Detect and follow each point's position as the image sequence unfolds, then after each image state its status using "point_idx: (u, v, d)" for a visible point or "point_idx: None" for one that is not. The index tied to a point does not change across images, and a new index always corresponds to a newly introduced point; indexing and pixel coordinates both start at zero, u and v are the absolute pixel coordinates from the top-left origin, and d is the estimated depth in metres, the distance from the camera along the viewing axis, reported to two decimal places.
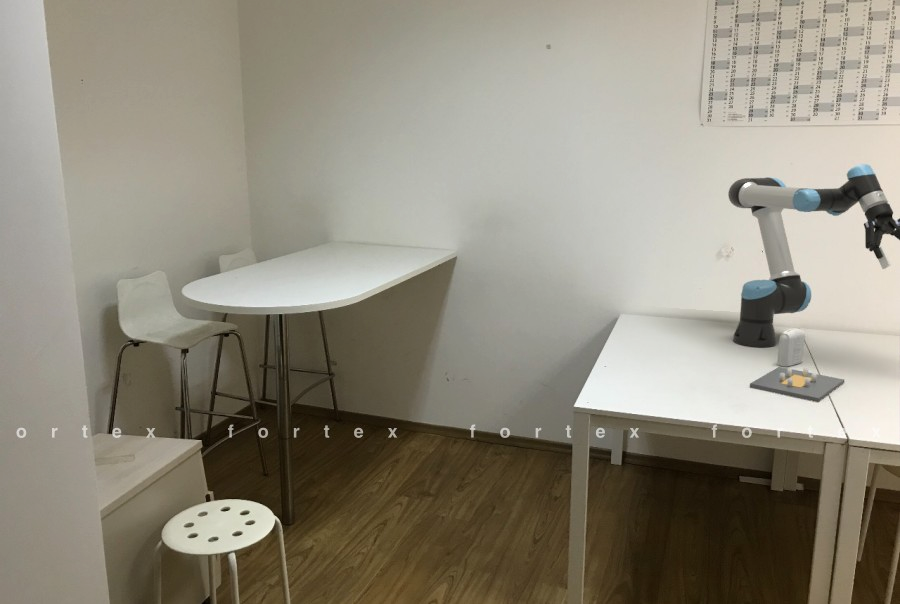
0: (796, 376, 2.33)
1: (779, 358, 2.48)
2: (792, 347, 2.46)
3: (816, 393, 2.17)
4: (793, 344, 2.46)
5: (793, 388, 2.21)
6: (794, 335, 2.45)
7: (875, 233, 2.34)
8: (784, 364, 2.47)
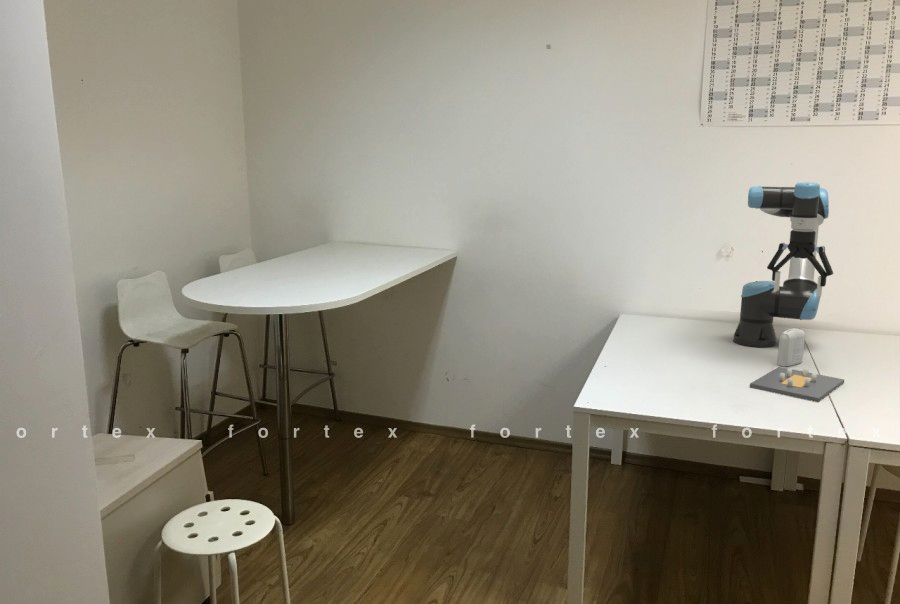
0: (796, 376, 2.33)
1: (779, 358, 2.48)
2: (792, 347, 2.46)
3: (816, 393, 2.17)
4: (793, 344, 2.46)
5: (793, 388, 2.21)
6: (794, 335, 2.45)
7: None
8: (784, 364, 2.47)
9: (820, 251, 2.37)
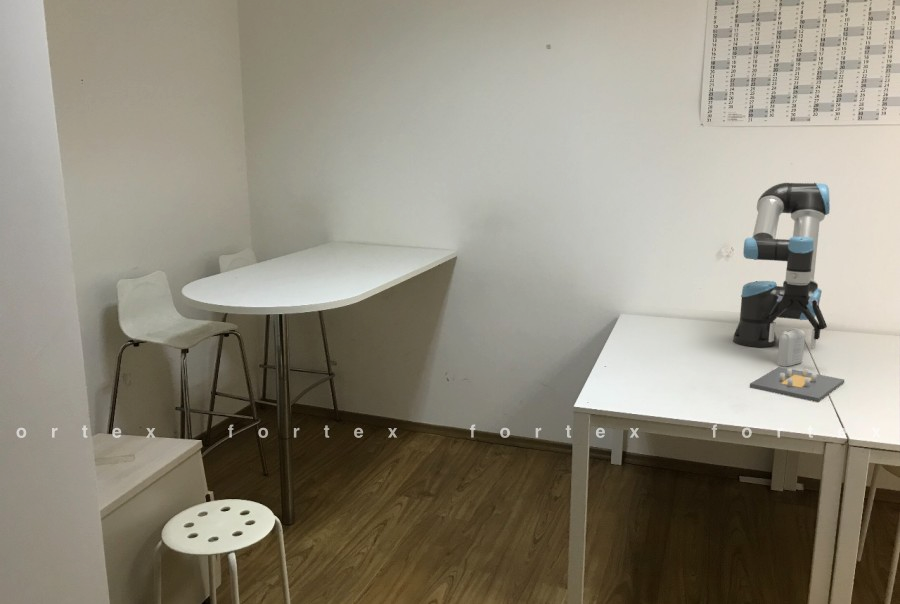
0: (796, 376, 2.33)
1: (779, 358, 2.48)
2: (792, 347, 2.46)
3: (816, 393, 2.17)
4: (793, 344, 2.46)
5: (793, 388, 2.21)
6: (794, 335, 2.45)
7: None
8: (784, 364, 2.47)
9: (814, 305, 2.41)
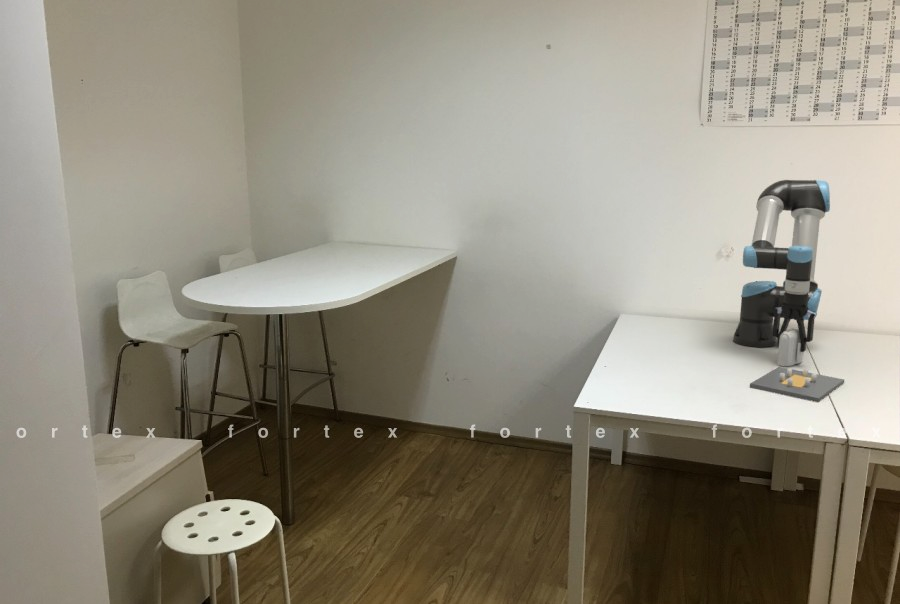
0: (796, 376, 2.33)
1: (779, 358, 2.48)
2: (792, 346, 2.46)
3: (816, 393, 2.17)
4: (793, 344, 2.46)
5: (793, 388, 2.21)
6: (794, 335, 2.45)
7: None
8: (784, 363, 2.47)
9: (810, 317, 2.42)
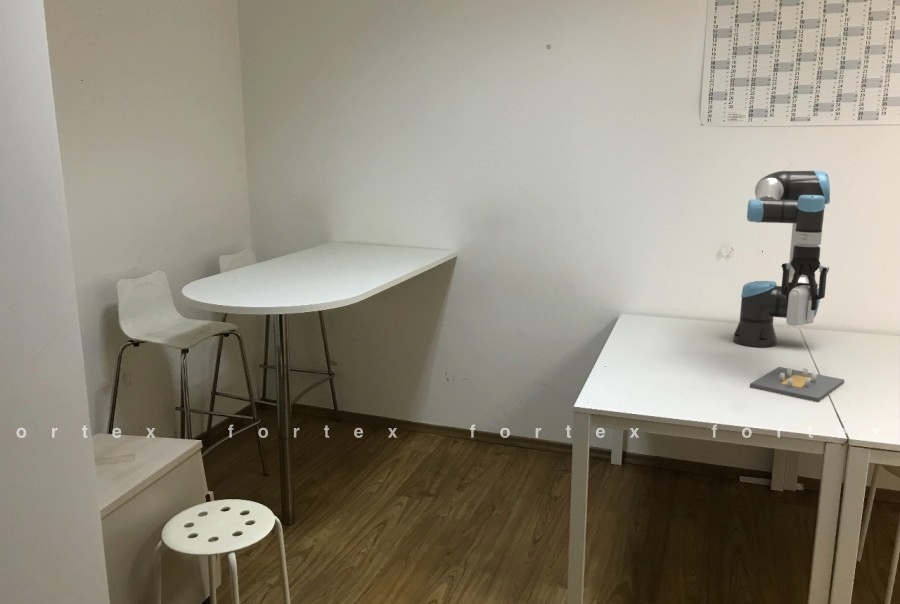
0: (796, 376, 2.33)
1: (788, 317, 2.29)
2: (802, 304, 2.27)
3: (816, 393, 2.17)
4: (803, 302, 2.27)
5: (793, 388, 2.21)
6: (804, 292, 2.27)
7: None
8: (794, 323, 2.28)
9: (823, 272, 2.23)
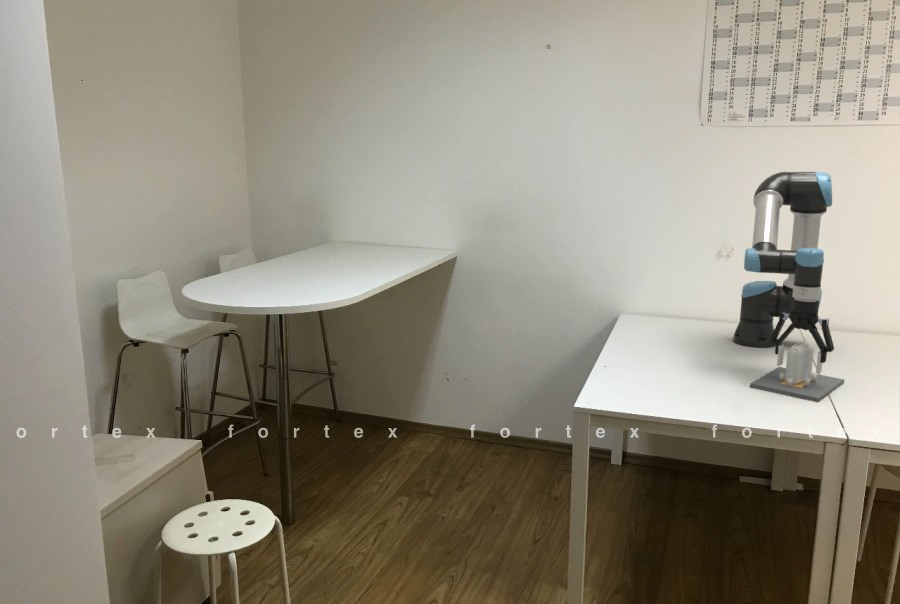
0: None
1: (787, 375, 2.25)
2: (801, 362, 2.23)
3: (816, 393, 2.17)
4: (802, 360, 2.23)
5: (793, 388, 2.21)
6: (803, 350, 2.23)
7: None
8: (793, 381, 2.24)
9: (823, 324, 2.19)
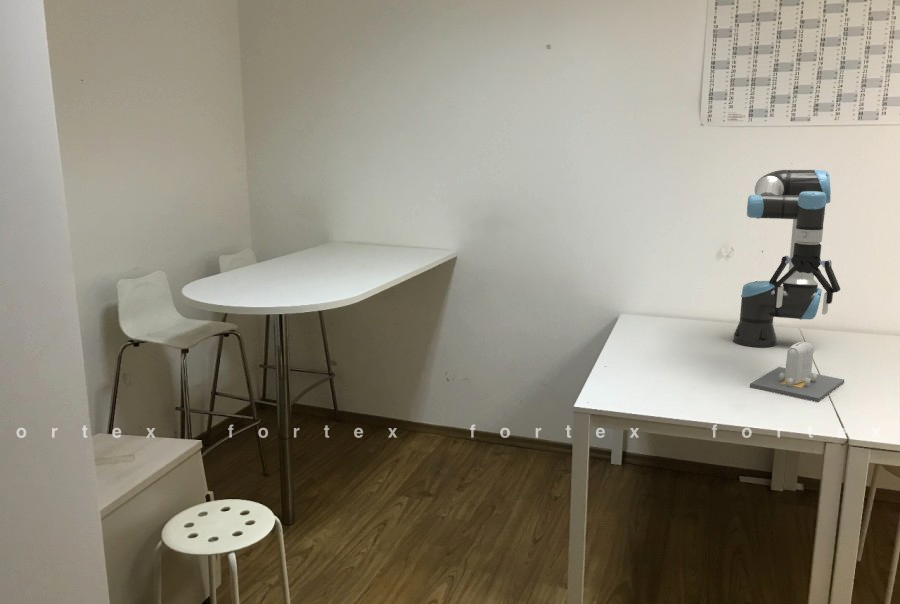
0: None
1: (787, 375, 2.25)
2: (801, 362, 2.23)
3: (816, 393, 2.17)
4: (802, 360, 2.23)
5: (793, 388, 2.21)
6: (803, 349, 2.23)
7: None
8: (793, 381, 2.24)
9: (826, 266, 2.20)
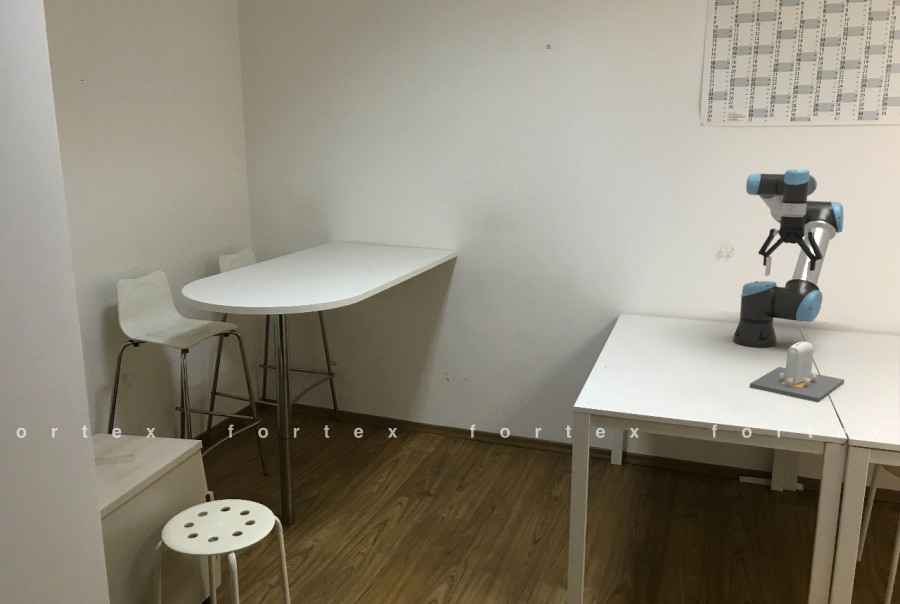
0: None
1: (787, 375, 2.25)
2: (801, 362, 2.23)
3: (816, 393, 2.17)
4: (802, 360, 2.23)
5: (793, 388, 2.21)
6: (803, 349, 2.23)
7: None
8: (793, 381, 2.24)
9: (809, 236, 2.43)
